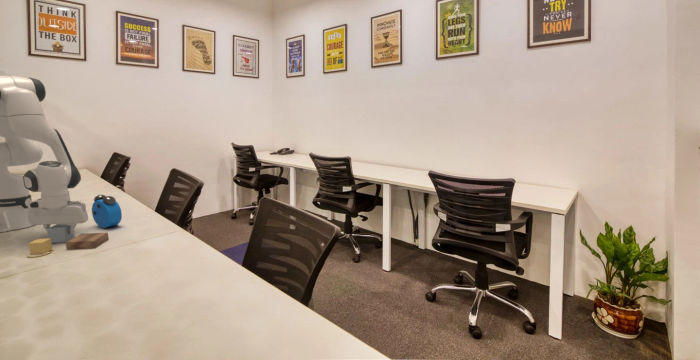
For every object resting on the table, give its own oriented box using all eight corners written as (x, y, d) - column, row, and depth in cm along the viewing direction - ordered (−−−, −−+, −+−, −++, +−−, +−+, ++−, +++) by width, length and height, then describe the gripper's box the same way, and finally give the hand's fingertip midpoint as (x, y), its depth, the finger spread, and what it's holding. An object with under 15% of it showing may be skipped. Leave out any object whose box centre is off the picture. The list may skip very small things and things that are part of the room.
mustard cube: (30, 254, 129) (28, 243, 128) (39, 250, 133) (37, 238, 132) (44, 254, 129) (42, 242, 128) (52, 249, 134) (50, 238, 133)
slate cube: (49, 243, 139) (46, 228, 138) (59, 237, 145) (57, 224, 144) (65, 242, 140) (63, 228, 139) (75, 237, 146) (73, 223, 145)
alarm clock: (123, 226, 161) (120, 195, 158) (109, 230, 155) (105, 198, 152) (106, 223, 166) (102, 192, 163) (92, 226, 161) (88, 195, 158)
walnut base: (66, 249, 133) (65, 242, 133) (82, 240, 143) (81, 233, 142) (95, 248, 135) (94, 240, 134) (108, 239, 144) (107, 232, 144)
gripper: (89, 198, 144) (93, 230, 147) (34, 200, 141) (39, 232, 144) (79, 202, 138) (84, 235, 141) (22, 204, 135) (28, 237, 138)
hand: (61, 234), depth 142 cm, fingers closed on slate cube, 6 cm apart
